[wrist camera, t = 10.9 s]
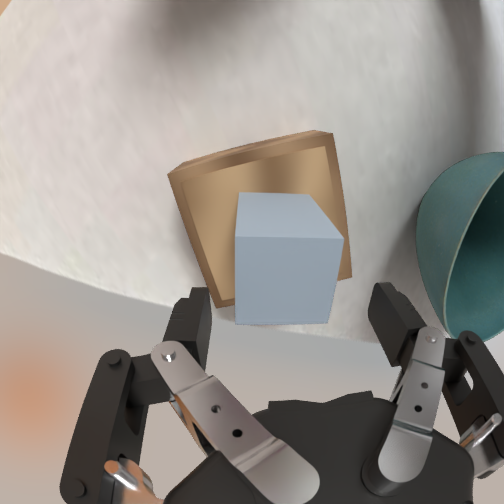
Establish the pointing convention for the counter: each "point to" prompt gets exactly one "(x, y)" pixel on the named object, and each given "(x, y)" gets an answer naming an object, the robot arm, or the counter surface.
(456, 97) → the counter surface
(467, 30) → the counter surface
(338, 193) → the brown wooden tray
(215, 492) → the robot arm
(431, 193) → the plant pot
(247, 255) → the slate block
